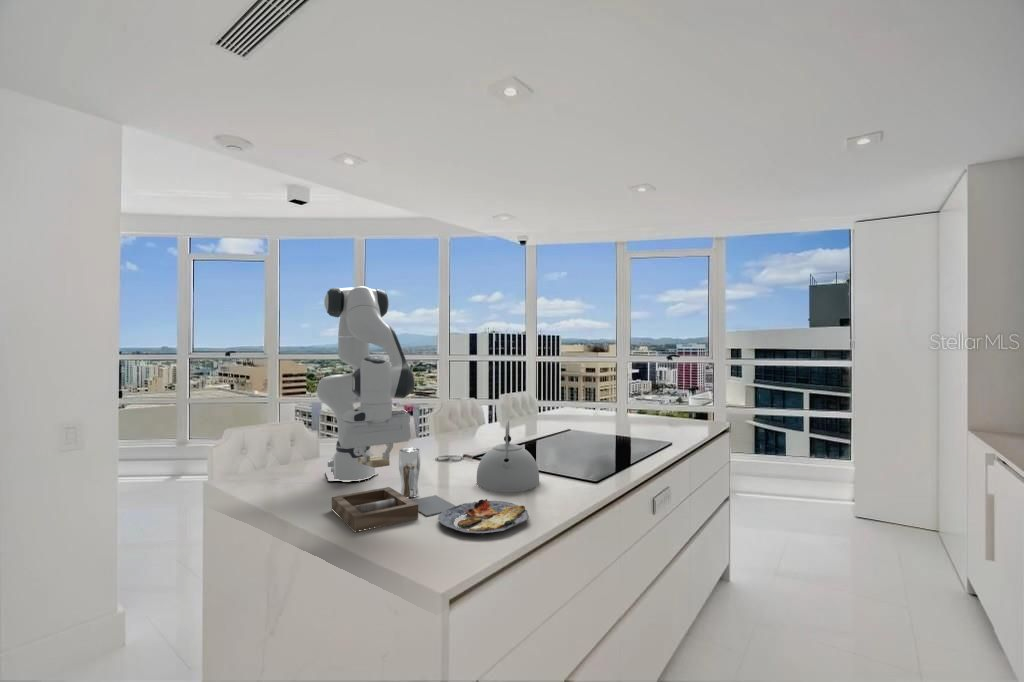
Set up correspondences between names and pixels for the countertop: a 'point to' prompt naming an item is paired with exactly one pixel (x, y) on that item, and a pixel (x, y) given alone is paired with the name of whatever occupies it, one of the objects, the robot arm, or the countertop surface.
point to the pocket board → (377, 515)
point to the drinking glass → (409, 471)
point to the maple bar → (375, 461)
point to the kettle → (507, 468)
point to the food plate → (484, 516)
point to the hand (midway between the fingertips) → (376, 460)
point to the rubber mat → (432, 505)
